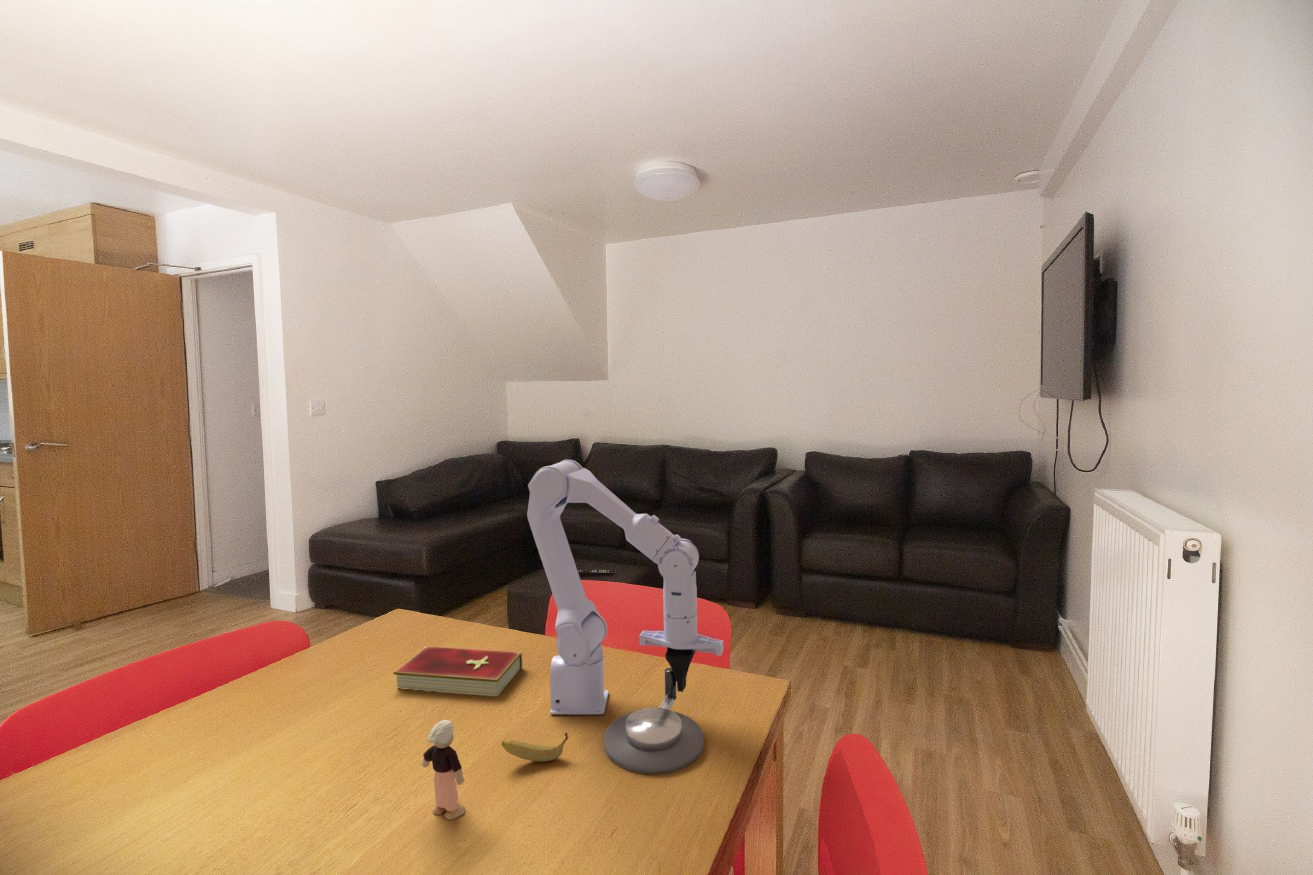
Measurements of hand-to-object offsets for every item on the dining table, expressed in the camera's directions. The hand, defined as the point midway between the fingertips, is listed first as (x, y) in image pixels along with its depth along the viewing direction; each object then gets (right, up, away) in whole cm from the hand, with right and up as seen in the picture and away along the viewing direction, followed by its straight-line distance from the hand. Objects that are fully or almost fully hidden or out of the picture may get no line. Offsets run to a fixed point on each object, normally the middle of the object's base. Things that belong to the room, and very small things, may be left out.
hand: (681, 688), depth 109 cm
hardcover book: (-43, -5, +16) cm, 46 cm away
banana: (-23, -7, -12) cm, 27 cm away
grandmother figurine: (-33, -8, -22) cm, 41 cm away
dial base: (-5, -6, -7) cm, 10 cm away
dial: (-4, -4, -5) cm, 7 cm away
